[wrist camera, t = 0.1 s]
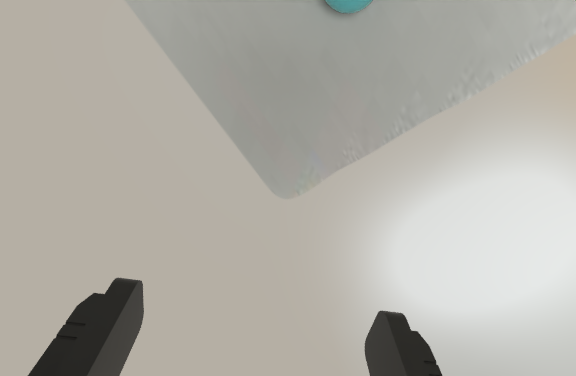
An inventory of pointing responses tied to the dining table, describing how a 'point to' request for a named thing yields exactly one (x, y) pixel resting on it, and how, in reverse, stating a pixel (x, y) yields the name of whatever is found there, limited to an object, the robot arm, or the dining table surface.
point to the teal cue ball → (348, 5)
